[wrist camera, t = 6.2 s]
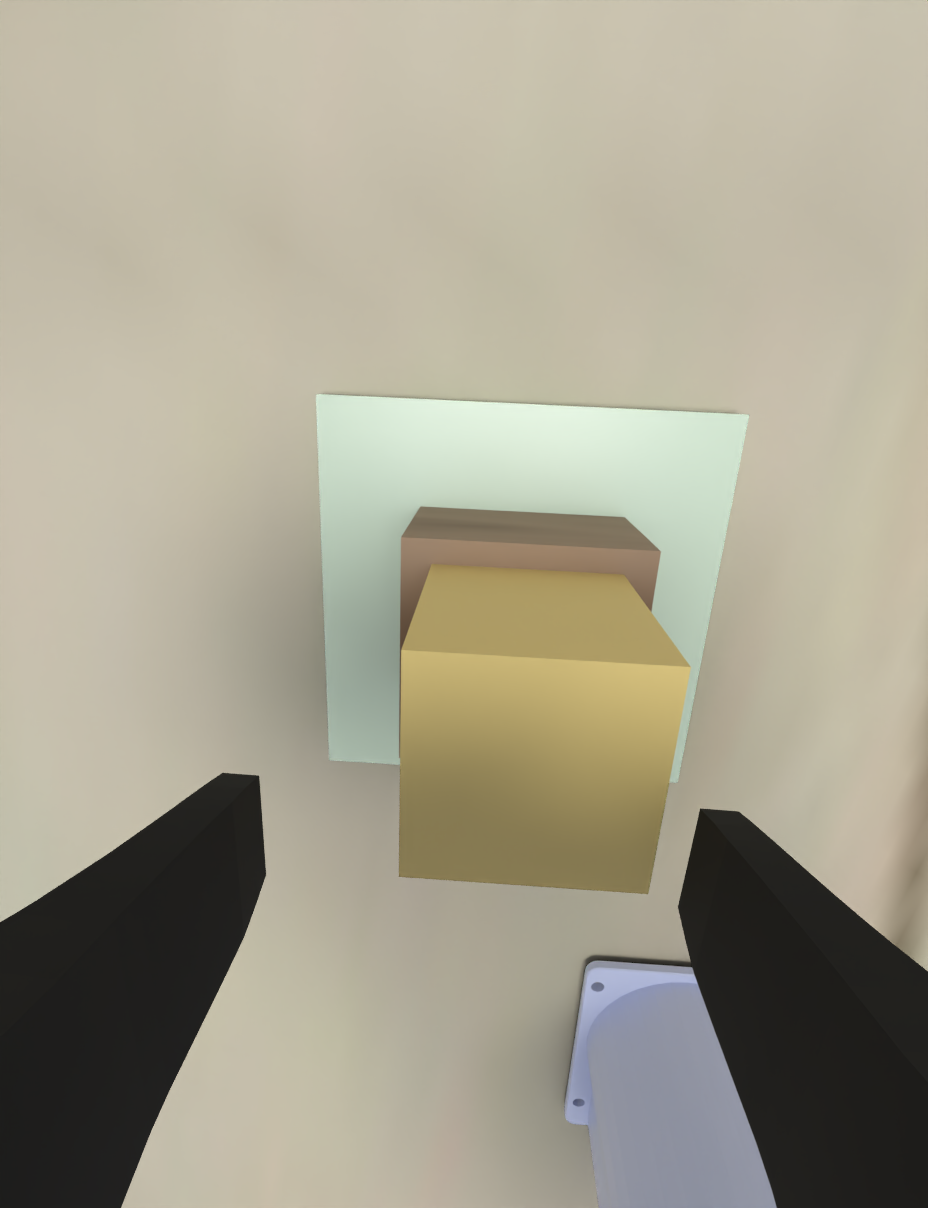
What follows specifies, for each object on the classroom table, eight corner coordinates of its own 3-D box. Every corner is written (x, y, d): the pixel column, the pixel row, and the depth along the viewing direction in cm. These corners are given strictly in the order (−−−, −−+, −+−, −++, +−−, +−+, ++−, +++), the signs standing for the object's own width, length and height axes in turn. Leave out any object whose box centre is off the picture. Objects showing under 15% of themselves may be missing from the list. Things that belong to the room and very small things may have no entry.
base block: (599, 699, 20) (625, 772, 16) (416, 688, 20) (398, 758, 16) (624, 517, 18) (661, 551, 14) (420, 506, 18) (401, 537, 14)
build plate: (671, 768, 21) (677, 782, 20) (334, 747, 22) (329, 760, 21) (738, 413, 17) (749, 414, 16) (323, 394, 17) (315, 394, 17)
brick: (600, 741, 15) (648, 893, 11) (427, 730, 16) (399, 876, 11) (623, 574, 14) (690, 667, 9) (431, 564, 14) (401, 649, 9)
